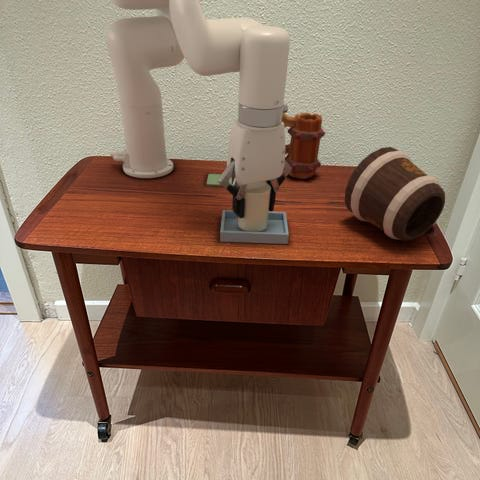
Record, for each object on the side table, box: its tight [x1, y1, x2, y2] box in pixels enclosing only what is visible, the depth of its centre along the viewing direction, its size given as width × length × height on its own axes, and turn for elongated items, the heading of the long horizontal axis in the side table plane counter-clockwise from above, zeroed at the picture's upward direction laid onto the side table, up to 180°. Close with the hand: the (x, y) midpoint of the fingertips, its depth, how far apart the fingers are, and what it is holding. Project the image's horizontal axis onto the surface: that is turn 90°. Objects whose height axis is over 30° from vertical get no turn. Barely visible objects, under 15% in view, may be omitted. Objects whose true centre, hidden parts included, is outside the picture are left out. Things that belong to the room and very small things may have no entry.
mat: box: [206, 173, 233, 187], centre depth 104 cm, size 6×6×1 cm
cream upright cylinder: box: [238, 181, 271, 232], centre depth 83 cm, size 6×6×8 cm
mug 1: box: [282, 112, 326, 180], centre depth 104 cm, size 15×8×15 cm, turn 84°
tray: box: [219, 209, 290, 245], centre depth 86 cm, size 13×9×2 cm
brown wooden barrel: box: [344, 146, 446, 242], centre depth 85 cm, size 20×15×15 cm
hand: (253, 211), depth 84 cm, fingers closed on cream upright cylinder, 6 cm apart
